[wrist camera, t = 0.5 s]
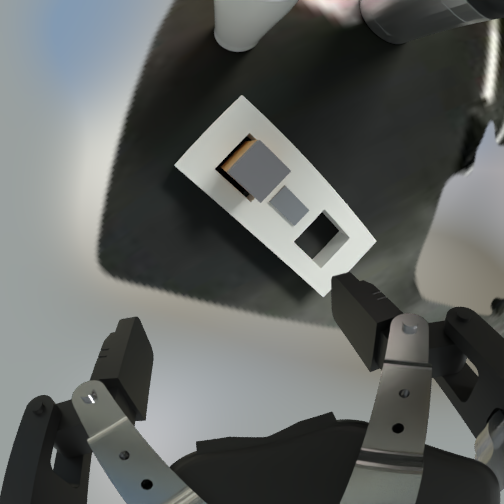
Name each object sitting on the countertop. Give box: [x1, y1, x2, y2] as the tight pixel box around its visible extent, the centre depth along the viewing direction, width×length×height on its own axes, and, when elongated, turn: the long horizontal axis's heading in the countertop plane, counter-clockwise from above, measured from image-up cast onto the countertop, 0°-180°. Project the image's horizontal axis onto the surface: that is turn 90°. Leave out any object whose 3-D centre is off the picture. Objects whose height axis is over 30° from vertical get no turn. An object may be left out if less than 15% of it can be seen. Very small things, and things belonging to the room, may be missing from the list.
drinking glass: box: [214, 0, 298, 52], centre depth 19 cm, size 7×7×15 cm
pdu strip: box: [174, 95, 376, 297], centre depth 33 cm, size 10×24×3 cm, turn 46°
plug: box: [221, 140, 291, 203], centre depth 29 cm, size 4×4×8 cm
